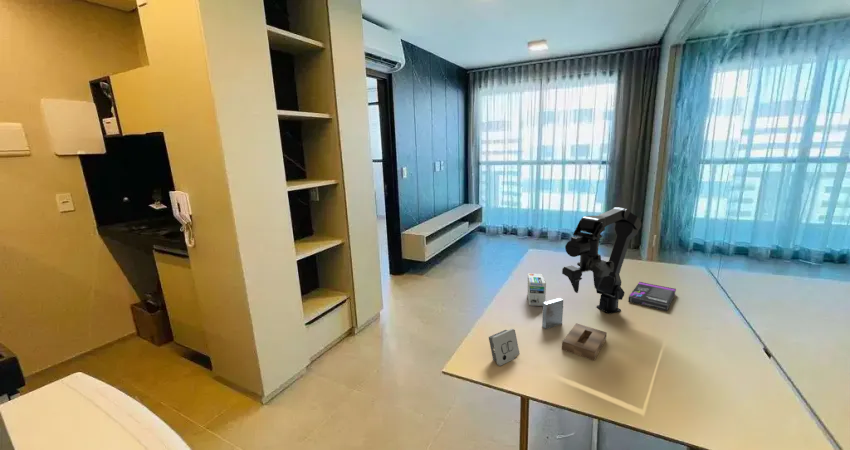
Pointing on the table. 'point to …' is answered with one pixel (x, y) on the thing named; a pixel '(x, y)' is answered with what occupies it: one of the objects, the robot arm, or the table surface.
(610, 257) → the robot arm
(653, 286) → the box
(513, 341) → the electrical switch
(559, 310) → the gray rectangular metal block
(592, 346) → the walnut slot box
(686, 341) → the table surface
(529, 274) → the light bulb box
